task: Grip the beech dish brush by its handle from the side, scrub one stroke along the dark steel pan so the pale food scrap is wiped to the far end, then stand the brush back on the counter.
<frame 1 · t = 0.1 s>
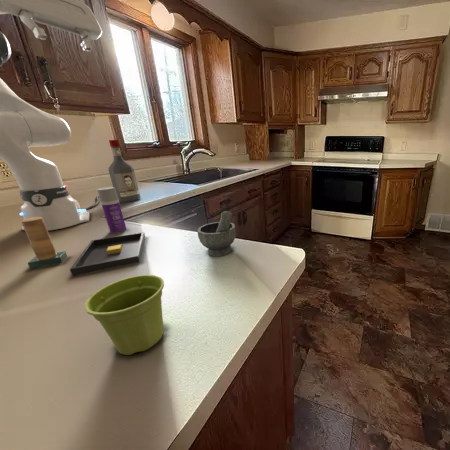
hand: (66, 44, 61), 52 cm above the counter, tool tilted 20°, fingers open, 8 cm apart
plant pot: (141, 340, 38), on the counter
container: (119, 232, 83), on the counter
food scrap: (115, 251, 67), resting on pan
liquor: (129, 200, 129), on the counter
brush: (50, 263, 62), on the counter
pan: (115, 254, 67), on the counter
mortar and pestle: (221, 252, 67), on the counter
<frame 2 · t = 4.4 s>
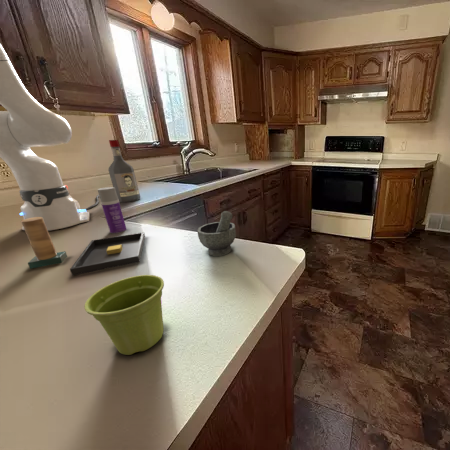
nothing on the counter moved.
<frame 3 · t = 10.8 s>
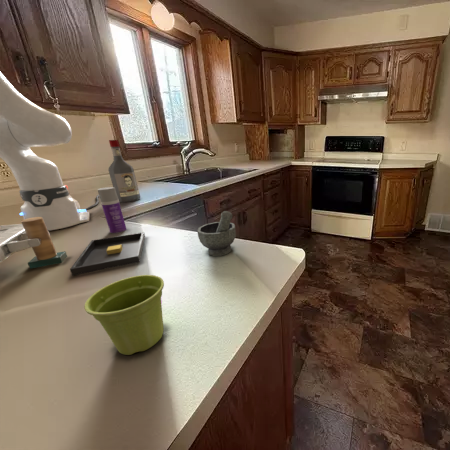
hand: (44, 237, 60), 7 cm above the counter, tool horizontal, fingers closed on brush, 3 cm apart
brush: (50, 263, 62), on the counter, touching gripper
everything else where it was.
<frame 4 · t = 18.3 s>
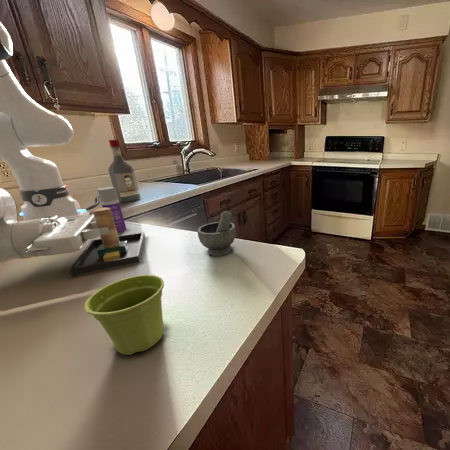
hand: (111, 227, 64), 8 cm above the counter, tool horizontal, fingers closed on brush, 3 cm apart
food scrap: (112, 258, 63), point 1 cm above the counter, touching brush
brush: (114, 251, 66), point 1 cm above the counter, touching food scrap, gripper
everything else where it was.
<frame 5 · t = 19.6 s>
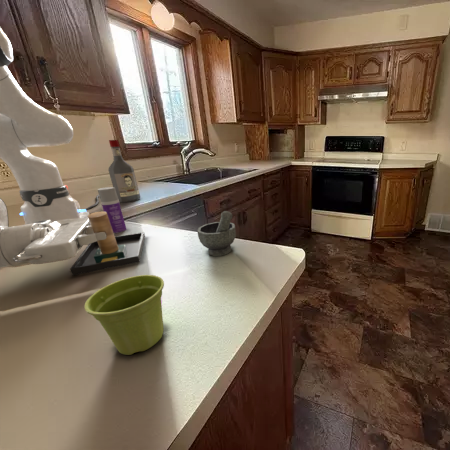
hand: (108, 231, 60), 8 cm above the counter, tool horizontal, fingers closed on brush, 4 cm apart
food scrap: (110, 264, 60), resting on pan, touching brush
brush: (112, 256, 63), point 1 cm above the counter, tilted 8°, touching food scrap, gripper
everything else where it was.
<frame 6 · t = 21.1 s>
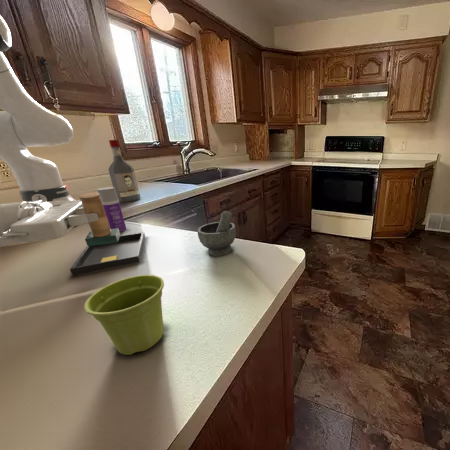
hand: (100, 213, 58), 13 cm above the counter, tool horizontal, fingers closed on brush, 4 cm apart
food scrap: (110, 263, 61), resting on pan
brush: (104, 240, 61), point 6 cm above the counter, tilted 9°, touching gripper
everything else where it was.
when the fingers open (7 cm above the counter, at t = 26.6 s): brush stays where it is, on the counter.
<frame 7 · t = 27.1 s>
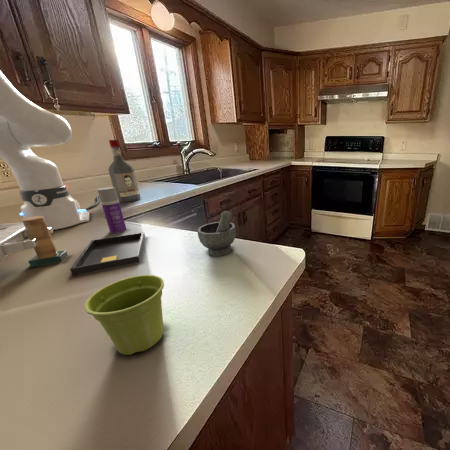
hand: (44, 236, 60), 7 cm above the counter, tool horizontal, fingers open, 8 cm apart
brush: (50, 262, 63), on the counter
everything else where it was.
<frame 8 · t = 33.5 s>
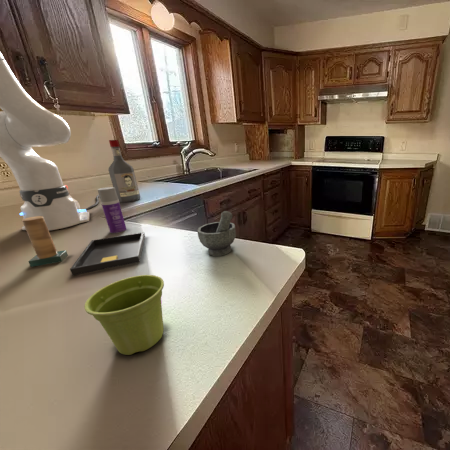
nothing on the counter moved.
at the end: food scrap inside the target area in the pan (0.8 cm from its centre), point 0.5 cm above the pan's base; brush inside the target area (0.4 cm from its centre), on the counter; brush tilted 0° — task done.
